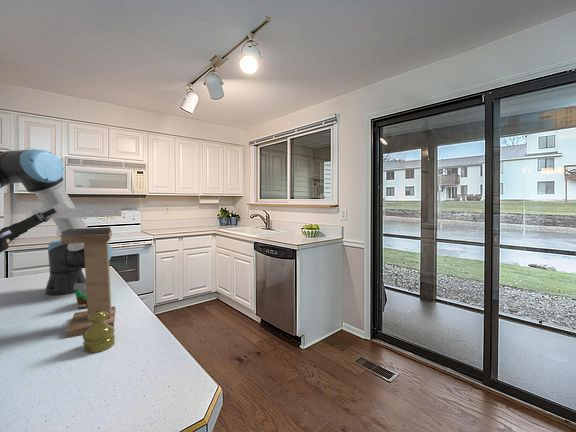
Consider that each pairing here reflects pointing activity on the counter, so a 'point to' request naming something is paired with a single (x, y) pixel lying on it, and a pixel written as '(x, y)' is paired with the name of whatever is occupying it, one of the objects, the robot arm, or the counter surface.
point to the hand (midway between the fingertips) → (67, 204)
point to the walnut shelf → (92, 276)
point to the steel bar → (84, 212)
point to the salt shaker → (98, 333)
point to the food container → (81, 295)
